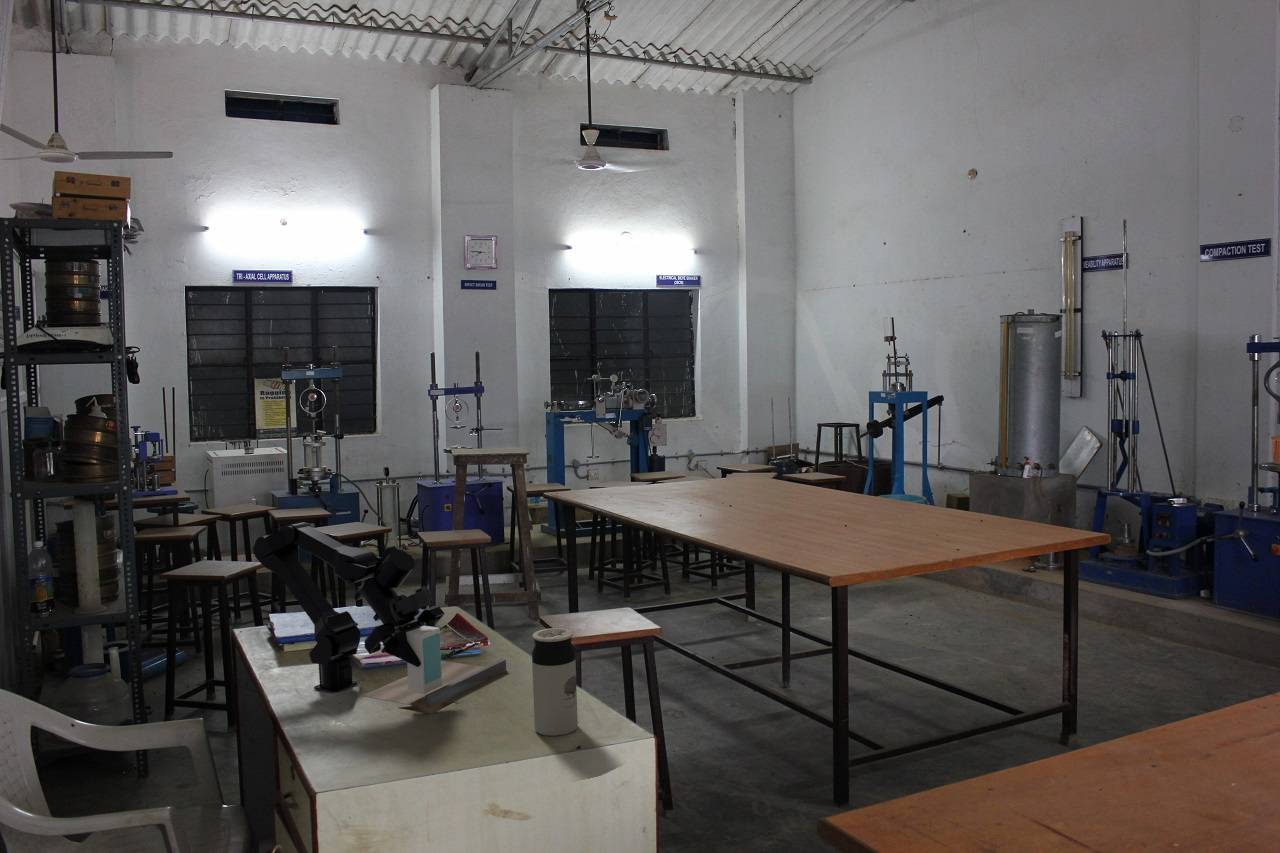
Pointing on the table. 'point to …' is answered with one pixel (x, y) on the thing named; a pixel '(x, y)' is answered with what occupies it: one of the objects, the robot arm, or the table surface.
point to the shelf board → (453, 683)
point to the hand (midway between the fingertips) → (429, 661)
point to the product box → (425, 660)
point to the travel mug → (554, 682)
